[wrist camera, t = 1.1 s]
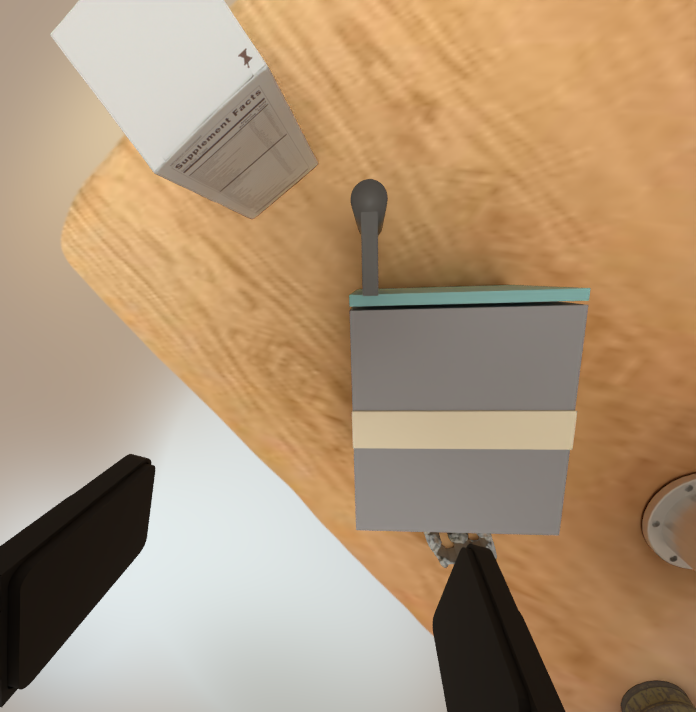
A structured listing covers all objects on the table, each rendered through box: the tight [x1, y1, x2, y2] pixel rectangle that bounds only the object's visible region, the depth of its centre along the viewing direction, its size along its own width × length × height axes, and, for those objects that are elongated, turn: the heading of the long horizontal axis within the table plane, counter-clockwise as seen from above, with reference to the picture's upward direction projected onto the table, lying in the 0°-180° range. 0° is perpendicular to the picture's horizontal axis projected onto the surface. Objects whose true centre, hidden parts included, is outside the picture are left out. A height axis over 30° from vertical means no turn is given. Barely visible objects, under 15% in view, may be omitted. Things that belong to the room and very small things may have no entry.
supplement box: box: [50, 0, 318, 219], centre depth 26 cm, size 10×9×17 cm
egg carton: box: [424, 532, 497, 568], centre depth 41 cm, size 11×8×4 cm
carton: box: [350, 301, 588, 535], centre depth 32 cm, size 16×18×14 cm
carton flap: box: [349, 179, 590, 307], centre depth 28 cm, size 16×8×16 cm, turn 92°
